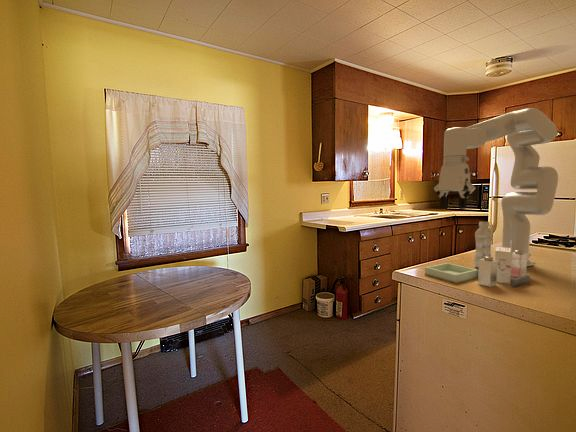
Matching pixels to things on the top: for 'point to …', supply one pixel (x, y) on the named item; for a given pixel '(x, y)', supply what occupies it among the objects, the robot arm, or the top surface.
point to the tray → (451, 272)
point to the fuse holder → (489, 270)
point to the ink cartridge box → (504, 264)
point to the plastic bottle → (482, 242)
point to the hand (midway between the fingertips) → (452, 207)
